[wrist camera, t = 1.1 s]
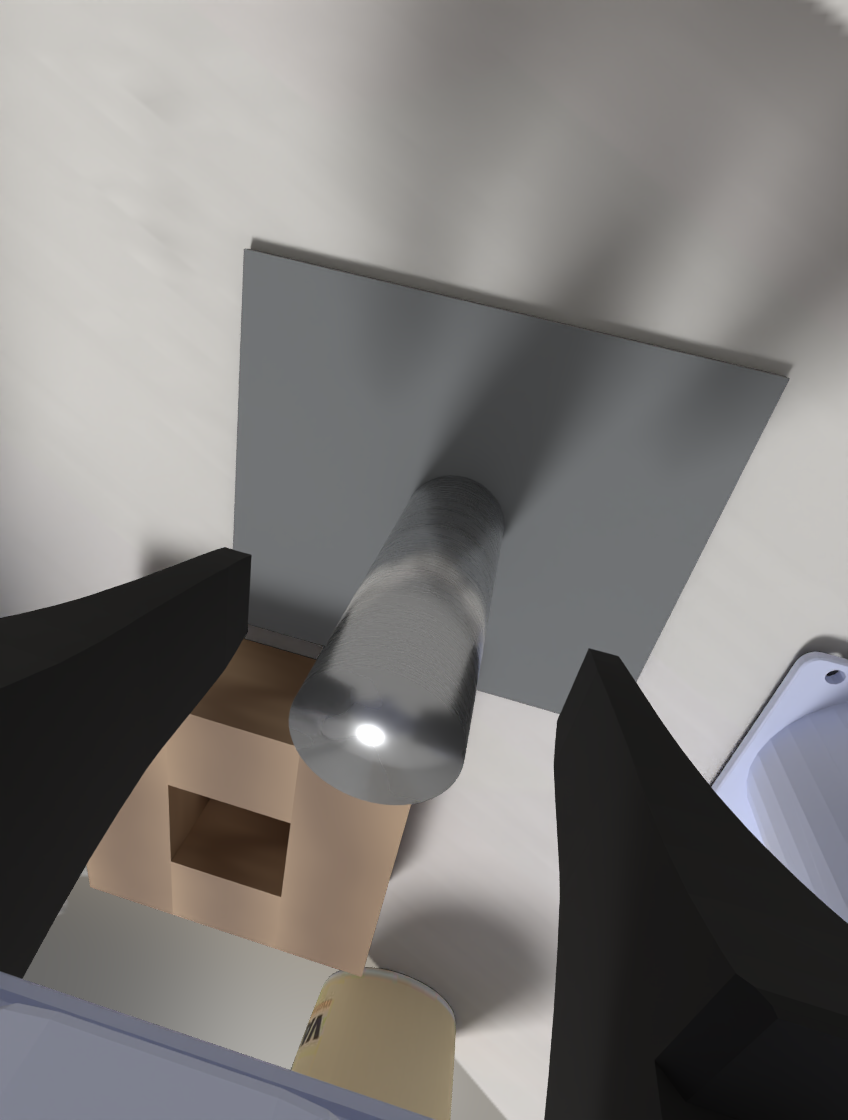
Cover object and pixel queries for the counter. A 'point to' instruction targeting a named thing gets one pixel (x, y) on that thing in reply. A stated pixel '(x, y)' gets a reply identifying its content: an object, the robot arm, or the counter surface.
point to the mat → (479, 461)
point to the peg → (406, 653)
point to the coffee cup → (382, 1041)
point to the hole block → (253, 826)
